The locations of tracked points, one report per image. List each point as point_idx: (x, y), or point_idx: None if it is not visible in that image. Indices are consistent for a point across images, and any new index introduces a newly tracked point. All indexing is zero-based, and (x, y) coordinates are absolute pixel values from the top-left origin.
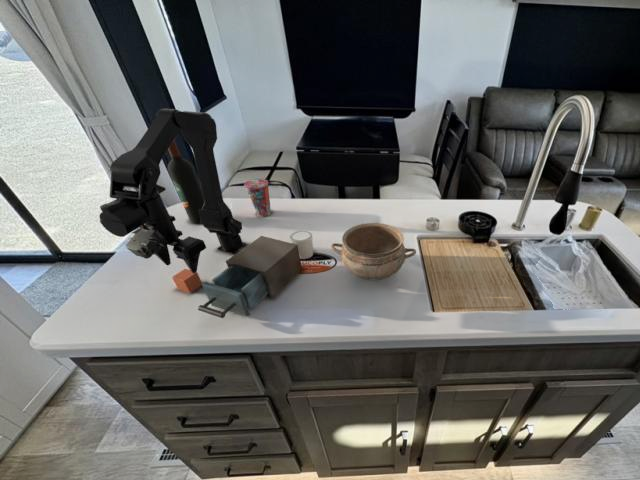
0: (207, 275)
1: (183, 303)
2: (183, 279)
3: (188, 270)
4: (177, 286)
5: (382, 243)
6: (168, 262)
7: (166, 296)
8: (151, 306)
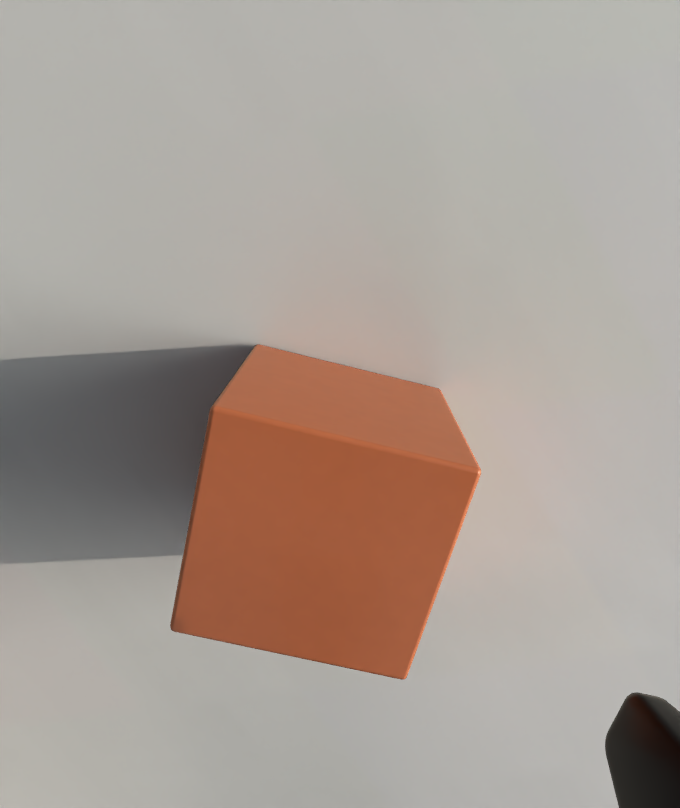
0: None
1: (218, 147)
2: (248, 442)
3: (319, 648)
4: (434, 402)
5: None
6: (637, 765)
7: (513, 246)
8: (600, 10)
